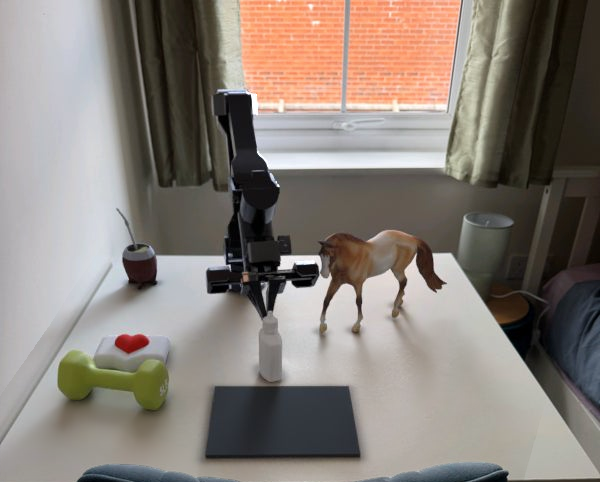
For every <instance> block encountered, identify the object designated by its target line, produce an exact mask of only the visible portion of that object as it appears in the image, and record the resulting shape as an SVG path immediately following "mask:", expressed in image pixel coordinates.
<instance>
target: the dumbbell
mask: <svg viewBox="0 0 600 482" xmlns="http://www.w3.org/2000/svg"><path fill="white" fill-rule="evenodd" d="M56 378H57V379H56V380H57V382H56V383H57V388H58V390H59V391H60V393H61V394H63V396H64V397H65V398H66V399H69V400H74V401H76V400H77V401H80V400H83V399H84V398H86V397H87V396H88V395H89V394H90V392H91V391H92V390H93V389H94V388H100V389H108V390H116V391H123V392H130V393H133V397H134V399H135V401H136V402H137V404H138V405H139V406H140V407H141V408H143V409H145V410H150V411H156V410H158V409H159V408H161V406H162V404H163V403H164V402H165V400H166V398H167V396H168V392H169V383H170V374H169V371H168V368H167V367H166V364H165V365H164V364H163V363H162V362H161V361H160V360H154V359H149V360H146V361H145V362H144V363H142V365H141V366H140V367H139V368H138V370H137V371H136V372H133V373H129V372H123V371H119V370H117V369H99V368H97V367H96V365H95V362H94V361H93V358H92V357H91V356H90V354H89V353H87V352H85V351H84V350H78V349H72V350H69V351H68V352H67V354H65V355H64V356H63V358H62V359H61V360H60V361H59V364H58V367H57V377H56Z"/></svg>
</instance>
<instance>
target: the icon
mask: <svg viewBox="0 0 600 482" xmlns="http://www.w3.org/2000/svg"><path fill="white" fill-rule="evenodd" d="M170 347H171V341H170V338H169V337H168V336H166V335H145V334H142V333H136V334H133V335H130V334H127V333H123V334H119V335H105V336H103V337H102V338H101V340H100V342H99V344H98V346H97V349H96V351H95V353H94V355H93V358H92V360H93V361H94V362H95V365H96V368H98V369H107V370H117V371H123V372H129V373H135V372H137V370H138V368H139V367H140V366H141V365H142V363H144V362H145V361H146V360H149V359H154V360H160V361H161V362H162V363H163V364H164V365H165V366H166V363H167V359H168V356H169V352H170Z"/></svg>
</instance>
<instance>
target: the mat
mask: <svg viewBox="0 0 600 482" xmlns="http://www.w3.org/2000/svg"><path fill="white" fill-rule="evenodd" d="M210 411H211V412H210V418H209V424H208V433H207V440H206V448H205V453H204V456H205V459H251V458H252V459H255V458H256V459H258V458H259V459H261V458H263V459H265V458H267V459H271V458H273V459H275V458H281V459H282V458H360V457H361V450H360V444H359V438H358V433H357V426H356V421H355V417H354V409H353V404H352V398H351V392H350V387H349V386H348V385H231V386H230V385H219V386H218V385H215V386H214V390H213V396H212V404H211V410H210Z"/></svg>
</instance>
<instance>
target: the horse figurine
mask: <svg viewBox="0 0 600 482" xmlns="http://www.w3.org/2000/svg"><path fill="white" fill-rule="evenodd" d="M317 243H318V244H319V245H321V247H320V249H319V251H318V253H317V254H318V257H319V258H320V263H321V267H320V268H321V269H320V270H319V274H320V276H321V277H322V278H323V279H329V277H331V280H330V282H329V285H328V287H327V291H326V295H325V296H324V299H323V303H322V310H321V313H320V317H319V322H320V323H319V326H318V327H319V328H318V329H319V333H322V334H323V333H325V332H326V331H327V330H328V324H327V323H326V320H327V319H326V315H327V311H328V308H329V306H330V304H331V301H332V300H333V299H334V296H335V295H336V293H338V291H339V290H340V288H341V287H342V286H343V285H346V284H347V285H349V286H352V287H353V290H354V292H355V305H356V307H357V319H356V321H355V322H354V323H353V325H352V326H351V327H352V328H351V332H353V333H357V332H359V331H360V330H361V327H362V326H361V322H362V321H363V319H364V315H363V309H362V307H363V285H364V283H365V282H366V281H367V280H368V279H370V278H375V277H378V276H381V275H384V274H385V273H386V272H388V271H389V270H390V271H391V272H392V274H393V276H394V277H395V279H396V280H397V281H398V292H397V294H396V296H395V299H394V301H393V308H392V310H391V317H392V319H397V318H398V317H399V316H400V308H399V307H401V306H402V305H403V304H404V299H403V297H404V296H405V294H406V292H405V289H406V287H407V285H408V277H407V276H406V274H405V273H406V271H405V270H406V269H407V268H408V267H409V266H410V264H411V263H412V262H413V261H414V259H415V265H416V268H417V270H418V273H419V275H420V276H421V277H422V278H423V280H424V281H425V282H424V283H425V284H426V286H427V288H428V289H430V290H431V291H432V292H434V293H435V294H437V293H438V291H439V290H442V289H443V286H444V285H448V282H446V281H444V280H442V278H441V277H439V275H438V274H437V273H436V271H435V263H434V255H433V251H432V249H431V247H430V246H429V245H428V244H427V242H426V241H424V240H423V239H422V238H420V237H418V236H416V235H412V234H411V235H410V234H408V233H406V232H404V231H401V230H395V229H386V230H383V231H381V232H379V233H377V234H376V235H375V236H373V237H372V238H370V239H368V240H365V239H363V238H360V237H359V236H356V235H354V234H352V233H350V232H347V231H337V232H334V233H333V234H331V235H329V236H328V237H327V238H325V240H318V241H317Z"/></svg>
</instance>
